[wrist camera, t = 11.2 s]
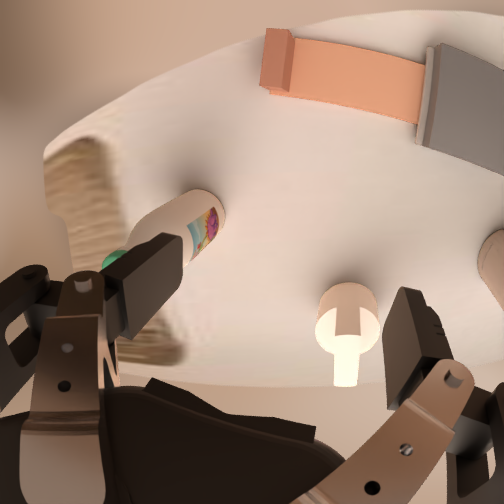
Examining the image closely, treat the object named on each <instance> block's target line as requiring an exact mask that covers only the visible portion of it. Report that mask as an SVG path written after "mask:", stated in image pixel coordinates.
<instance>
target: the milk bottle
mask: <svg viewBox="0 0 504 504" xmlns="http://www.w3.org/2000/svg"><path fill="white" fill-rule="evenodd" d="M224 221H225V215H224V210H223V207H222V205H221V203H220V201H219V200H218V199H217V198H216V197H215V196H214V195H213V194H211V193H210V192H208V191H205V190H200V189H196V190H191V191H188V192H186V193H184V194H182V195H180V196H179V197H177V198H175V199H173V200H171V201H169V202H167V203H166V204H164V205H162V206H160V207H159V208H157V209H155V210H153V211H152V212H150V213H149V214H147V215H146V216H145V217H143V218H142V219H141V220H140V221H139V222H138V223H137V224H136V226H135V227H134V229H133V230H132V232H131V234H130V237H129V239H128V242H127V243H126V245H125V246H124V247H121V248H119V249H117V250H116V251H114V252H113V253H111V254H110V255H108V256H107V257H106V258H105V260H104V261H103V264H102V269H104V268H105V267H106V266H108V265H109V264H111V263H112V262H113V261H115V260H116V259H117V258H120V256H122V255H123V254H124V253H127V251H129V250H130V249H131V248H133V247H134V246H136V245H139V244H141V243H144V242H147V241H150V240H151V239H152V238H154V237H155V236H157V235H158V234H160V233H161V232H165V233H169V234H174V235H178V236H181V237H182V239H183V267H185V266H186V265H187V264H188V263H189V262H190V261H191V260H192V259H193V258H195V257H196V256H197V255H198V254H199V253H200V252H201V251H202V250H203V249H204V248H205V247H206V246H207V245H208V244H209V243H210V242H211V241H212V240H213V239H214V238H215V237H216V236H217V235H218V234H219V233H220V231H221V230H222V228H223V225H224Z"/></svg>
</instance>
